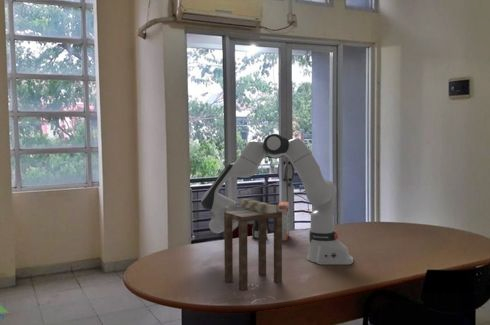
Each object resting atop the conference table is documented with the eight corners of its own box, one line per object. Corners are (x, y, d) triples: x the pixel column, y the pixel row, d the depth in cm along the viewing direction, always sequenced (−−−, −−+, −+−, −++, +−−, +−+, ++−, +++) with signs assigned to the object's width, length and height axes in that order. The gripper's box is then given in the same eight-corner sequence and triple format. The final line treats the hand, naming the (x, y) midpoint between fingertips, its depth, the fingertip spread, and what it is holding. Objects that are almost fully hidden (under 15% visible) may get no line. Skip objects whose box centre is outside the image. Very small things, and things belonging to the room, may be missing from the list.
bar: (240, 205, 206) (240, 199, 206) (247, 205, 208) (247, 198, 208) (269, 213, 188) (269, 206, 187) (276, 212, 189) (276, 205, 189)
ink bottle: (255, 240, 266) (255, 220, 265) (249, 237, 274) (249, 217, 273) (270, 238, 270) (270, 218, 269) (263, 235, 278) (263, 216, 277)
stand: (224, 281, 195) (224, 211, 193) (262, 272, 206) (262, 206, 204) (242, 290, 184) (242, 216, 181) (281, 281, 194) (282, 211, 192)
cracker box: (287, 241, 264) (287, 205, 262) (276, 240, 265) (277, 205, 264) (289, 235, 278) (290, 201, 276) (280, 235, 279) (280, 201, 277)
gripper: (207, 212, 214) (220, 201, 203) (244, 208, 225) (258, 197, 215) (211, 224, 212) (224, 214, 201) (248, 220, 223) (262, 210, 212)
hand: (242, 205), depth 208 cm, fingers open, 8 cm apart
